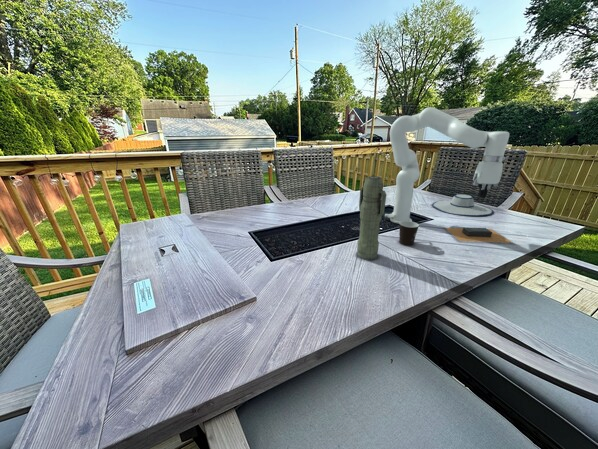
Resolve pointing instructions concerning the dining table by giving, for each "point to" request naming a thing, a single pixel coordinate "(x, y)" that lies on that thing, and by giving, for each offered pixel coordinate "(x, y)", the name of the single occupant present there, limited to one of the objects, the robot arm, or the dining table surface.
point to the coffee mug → (407, 232)
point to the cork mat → (462, 237)
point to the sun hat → (462, 206)
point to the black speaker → (476, 232)
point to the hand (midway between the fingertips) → (481, 197)
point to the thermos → (370, 216)
